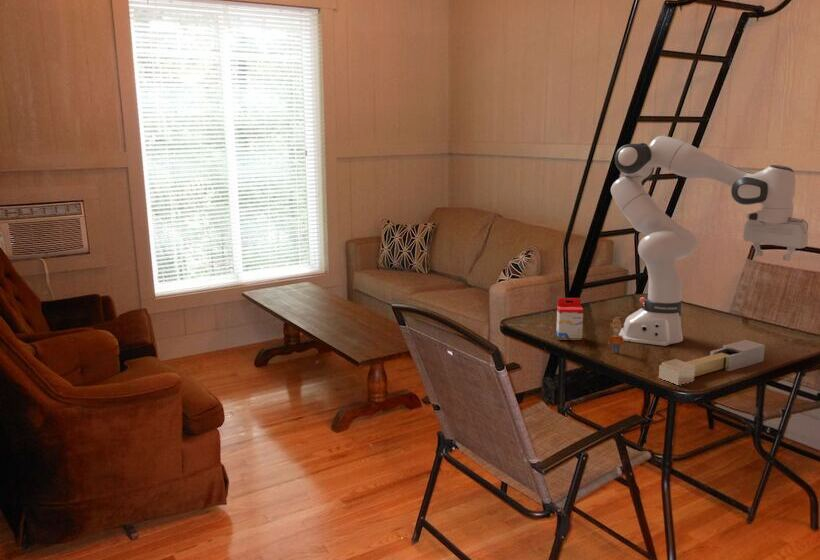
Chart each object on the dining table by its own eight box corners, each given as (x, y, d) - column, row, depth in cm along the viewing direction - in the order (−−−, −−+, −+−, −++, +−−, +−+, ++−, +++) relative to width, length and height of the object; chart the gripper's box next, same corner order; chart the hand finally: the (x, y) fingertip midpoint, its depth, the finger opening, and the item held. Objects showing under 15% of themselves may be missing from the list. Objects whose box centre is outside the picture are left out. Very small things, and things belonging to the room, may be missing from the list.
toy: (606, 352, 226) (608, 316, 223) (609, 350, 228) (610, 314, 225) (622, 355, 223) (624, 318, 220) (624, 352, 225) (626, 316, 223)
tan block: (719, 363, 212) (720, 352, 212) (730, 366, 209) (731, 355, 208) (672, 376, 202) (673, 364, 201) (682, 380, 199) (683, 368, 198)
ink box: (558, 341, 239) (559, 301, 236) (555, 336, 244) (557, 297, 240) (582, 340, 239) (584, 301, 235) (579, 336, 243) (580, 297, 240)
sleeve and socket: (743, 355, 221) (745, 339, 219) (763, 361, 215) (765, 345, 213) (658, 378, 202) (659, 361, 200) (677, 386, 196) (679, 368, 194)
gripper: (814, 218, 209) (809, 262, 212) (754, 212, 227) (750, 252, 230) (802, 220, 206) (797, 264, 209) (742, 214, 224) (738, 254, 227)
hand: (772, 258), depth 220 cm, fingers open, 8 cm apart
